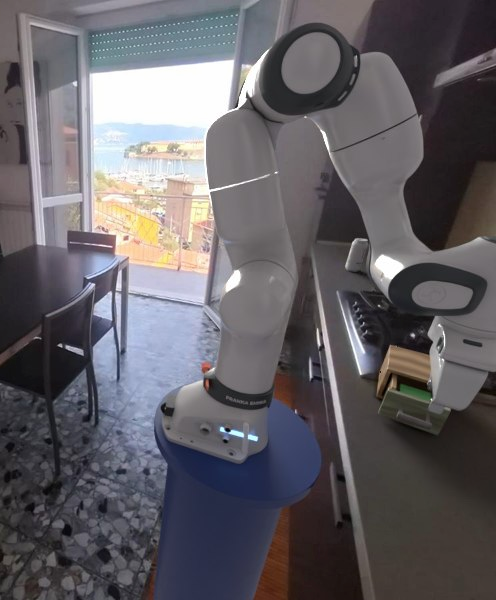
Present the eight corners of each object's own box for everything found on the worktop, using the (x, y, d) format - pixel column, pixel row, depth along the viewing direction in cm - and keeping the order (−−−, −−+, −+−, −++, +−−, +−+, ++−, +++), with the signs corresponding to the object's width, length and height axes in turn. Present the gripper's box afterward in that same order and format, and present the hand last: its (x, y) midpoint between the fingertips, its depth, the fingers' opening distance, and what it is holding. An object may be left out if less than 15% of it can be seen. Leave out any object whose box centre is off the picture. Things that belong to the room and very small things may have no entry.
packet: (424, 419, 78) (432, 403, 77) (393, 409, 82) (399, 393, 80) (423, 408, 82) (431, 393, 80) (393, 398, 85) (400, 383, 83)
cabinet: (438, 417, 82) (453, 387, 78) (376, 397, 88) (387, 368, 85) (435, 388, 91) (449, 360, 88) (379, 371, 98) (390, 344, 94)
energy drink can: (357, 273, 167) (367, 242, 161) (342, 269, 171) (351, 239, 165) (361, 270, 171) (370, 239, 165) (346, 267, 175) (355, 237, 169)
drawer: (439, 450, 72) (452, 424, 69) (376, 426, 78) (386, 402, 75) (435, 404, 84) (446, 381, 82) (381, 386, 90) (390, 364, 88)
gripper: (437, 307, 69) (411, 367, 74) (444, 354, 54) (411, 423, 60) (483, 317, 65) (451, 378, 71) (503, 369, 51) (462, 441, 56)
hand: (433, 399), depth 65 cm, fingers open, 6 cm apart
